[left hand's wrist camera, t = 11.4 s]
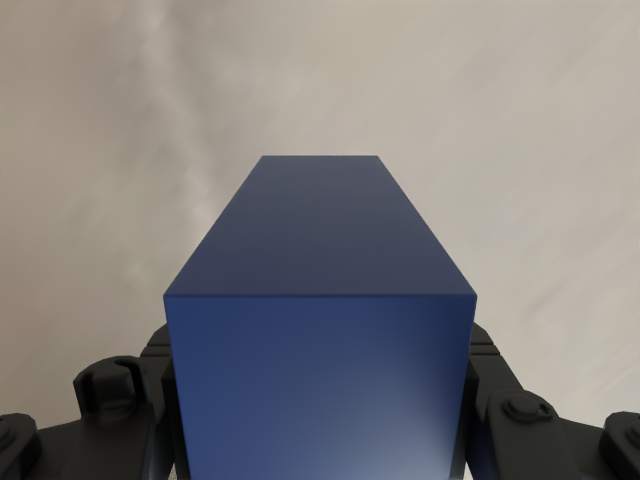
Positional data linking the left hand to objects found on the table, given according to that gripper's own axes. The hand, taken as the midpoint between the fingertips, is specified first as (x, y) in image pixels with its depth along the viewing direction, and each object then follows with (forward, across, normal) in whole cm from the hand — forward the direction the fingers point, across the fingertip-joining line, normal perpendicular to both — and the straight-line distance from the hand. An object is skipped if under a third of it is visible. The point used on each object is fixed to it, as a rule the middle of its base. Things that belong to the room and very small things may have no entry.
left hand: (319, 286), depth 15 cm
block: (+4, 0, 0) cm, 4 cm away
